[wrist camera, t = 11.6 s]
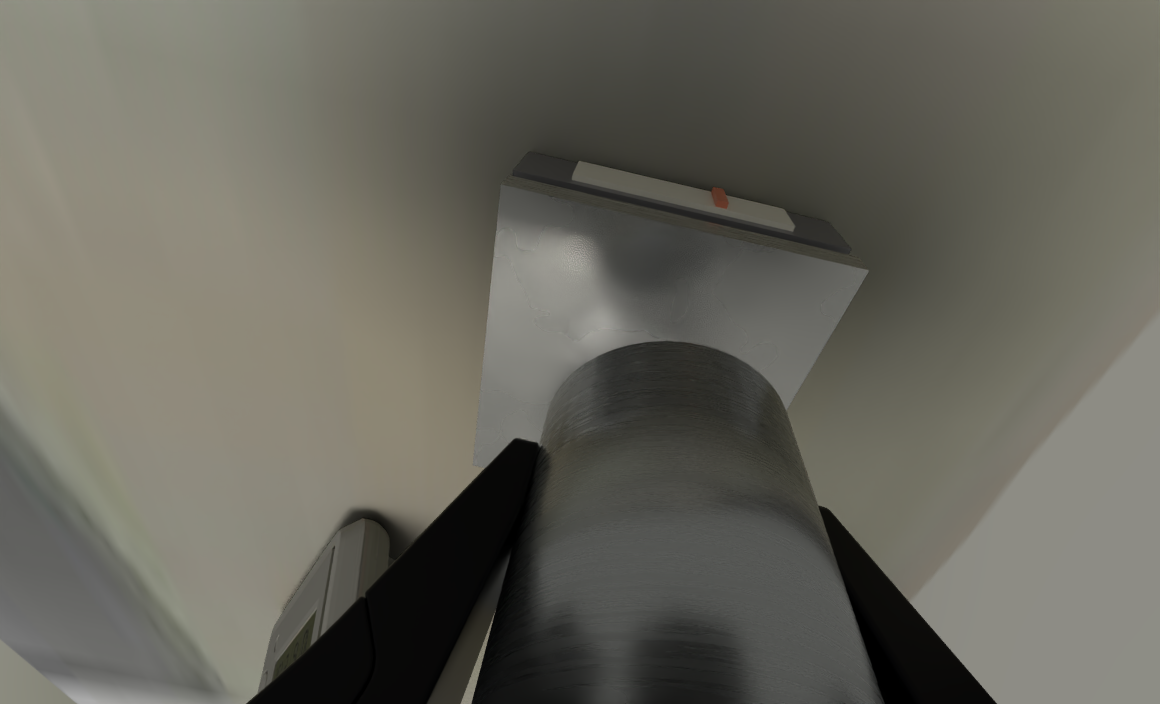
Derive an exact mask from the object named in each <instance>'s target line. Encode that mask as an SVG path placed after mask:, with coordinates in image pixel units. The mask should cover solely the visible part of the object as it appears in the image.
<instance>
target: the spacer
mask: <svg viewBox="0 0 1160 704" xmlns="http://www.w3.org/2000/svg"><path fill="white" fill-rule="evenodd" d="M472 704H885V703H884V701H883V698H882V695H881V692H880V689H879V686H878V683H877V680H876V677H875V674H874V671H873V668H872V665H871V662H870V659H869V656H868V653H867V650H866V647H865V644H864V641H863V638H862V635H861V632H860V629H859V626H858V623H857V620H856V617H855V614H854V611H853V608H852V605H851V602H850V599H849V596H848V593H847V590H846V587H845V584H844V581H843V579H842V576H841V573H840V570H839V567H838V564H837V561H836V558H835V555H834V552H833V549H832V546H831V543H830V540H829V537H828V534H827V531H826V528H825V525H824V522H823V519H822V516H821V513H820V510H819V507H818V504H817V501H816V498H815V495H814V492H813V489H812V486H811V483H810V480H809V477H808V474H807V471H806V468H805V465H804V462H803V459H802V456H801V454H800V451H799V448H798V445H797V442H796V439H795V436H794V433H793V430H792V427H791V424H790V421H789V418H788V415H787V412H786V409H785V407H784V404H783V402H782V400H781V398H780V396H779V395H778V393H777V392H776V390H775V389H774V387H773V386H772V385H771V384H770V383H769V382H768V381H767V379H766V378H765V377H764V376H763V375H762V374H760V373H759V372H758V371H757V370H755V369H754V368H753V367H751V366H750V365H749V364H747V363H745V362H744V361H742V360H740V359H738V358H737V357H735V356H732V355H730V354H728V353H725V352H723V351H721V350H718V349H714V348H711V347H707V346H704V345H699V344H693V343H687V342H677V341H653V342H643V343H637V344H631V345H627V346H623V347H620V348H616V349H613V350H610V351H608V352H606V353H603V354H601V355H598V356H597V357H595V358H593V359H591V360H589V361H588V362H586V363H584V364H583V365H582V366H580V367H579V368H578V369H576V370H575V371H574V372H572V374H571V375H570V376H569V377H568V378H567V379H566V380H565V381H564V382H563V383H562V384H561V386H560V387H559V388H558V390H557V391H556V393H555V395H554V397H553V399H552V401H551V403H550V405H549V409H548V412H547V415H546V419H545V423H544V427H543V431H542V435H541V439H540V442H539V449H538V453H537V457H536V461H535V464H534V468H533V472H532V476H531V480H530V484H529V488H528V491H527V495H526V499H525V503H524V507H523V510H522V514H521V517H520V521H519V525H518V528H517V532H516V535H515V539H514V542H513V546H512V550H511V554H510V558H509V562H508V565H507V569H506V573H505V577H504V581H503V585H502V588H501V592H500V596H499V600H498V604H497V608H496V612H495V615H494V619H493V623H492V627H491V631H490V635H489V638H488V642H487V646H486V650H485V654H484V658H483V661H482V665H481V669H480V673H479V677H478V681H477V685H476V688H475V692H474V696H473V700H472Z"/></svg>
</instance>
